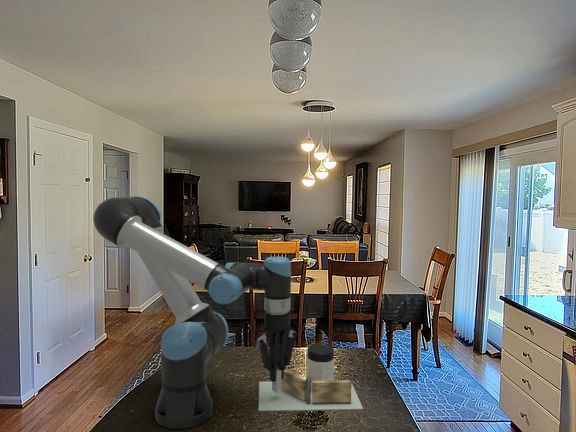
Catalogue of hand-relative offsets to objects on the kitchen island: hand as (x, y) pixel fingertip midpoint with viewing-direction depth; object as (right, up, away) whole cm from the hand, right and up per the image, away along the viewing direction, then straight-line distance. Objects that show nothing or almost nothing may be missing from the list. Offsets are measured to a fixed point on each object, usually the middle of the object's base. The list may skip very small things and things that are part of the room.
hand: (276, 390), depth 122 cm
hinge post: (+9, -3, -2) cm, 10 cm away
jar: (+13, -2, +7) cm, 15 cm away
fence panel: (+5, -2, +2) cm, 5 cm away
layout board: (+9, -2, +3) cm, 10 cm away
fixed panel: (+16, -3, -2) cm, 16 cm away
